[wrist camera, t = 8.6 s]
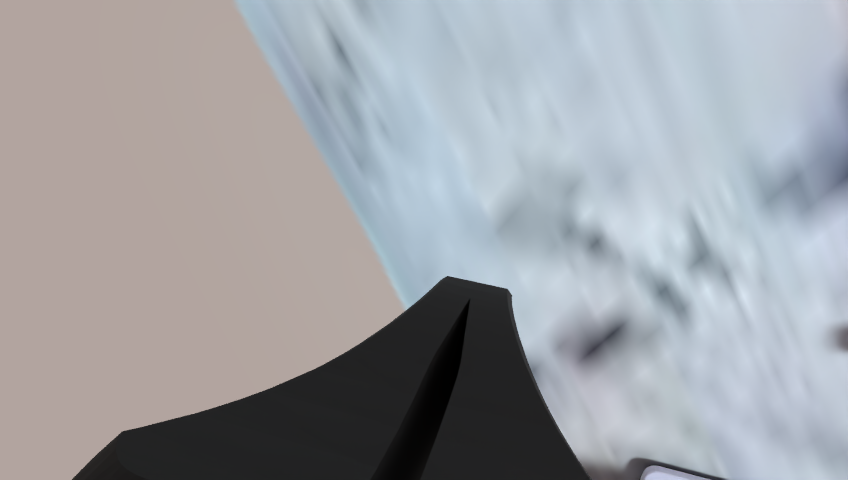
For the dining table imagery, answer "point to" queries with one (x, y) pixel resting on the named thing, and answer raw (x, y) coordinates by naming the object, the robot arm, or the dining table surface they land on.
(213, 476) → the robot arm
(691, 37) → the dining table surface
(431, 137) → the dining table surface
